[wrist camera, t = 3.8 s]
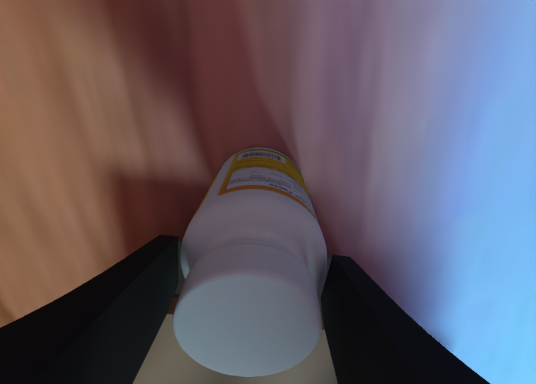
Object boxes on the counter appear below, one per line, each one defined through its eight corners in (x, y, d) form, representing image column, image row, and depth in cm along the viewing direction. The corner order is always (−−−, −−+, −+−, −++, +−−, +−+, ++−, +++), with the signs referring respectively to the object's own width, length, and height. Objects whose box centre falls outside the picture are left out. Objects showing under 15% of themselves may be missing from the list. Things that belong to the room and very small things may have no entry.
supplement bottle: (253, 240, 17) (234, 414, 8) (197, 180, 15) (98, 317, 6) (321, 196, 16) (387, 347, 7) (268, 125, 14) (267, 203, 5)
